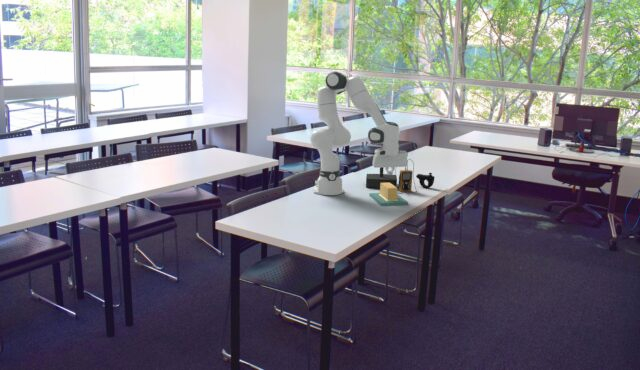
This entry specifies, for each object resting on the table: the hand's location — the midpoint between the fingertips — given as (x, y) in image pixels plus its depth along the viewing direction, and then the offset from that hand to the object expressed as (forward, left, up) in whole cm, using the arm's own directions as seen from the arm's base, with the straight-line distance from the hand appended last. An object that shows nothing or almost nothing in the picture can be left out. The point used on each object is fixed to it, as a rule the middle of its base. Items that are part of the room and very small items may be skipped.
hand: (389, 174), depth 329 cm
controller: (-25, +33, -15) cm, 44 cm away
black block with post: (-34, +7, -16) cm, 38 cm away
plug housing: (0, 0, -13) cm, 13 cm away
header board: (0, 0, -15) cm, 15 cm away
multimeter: (-14, +17, -15) cm, 27 cm away
